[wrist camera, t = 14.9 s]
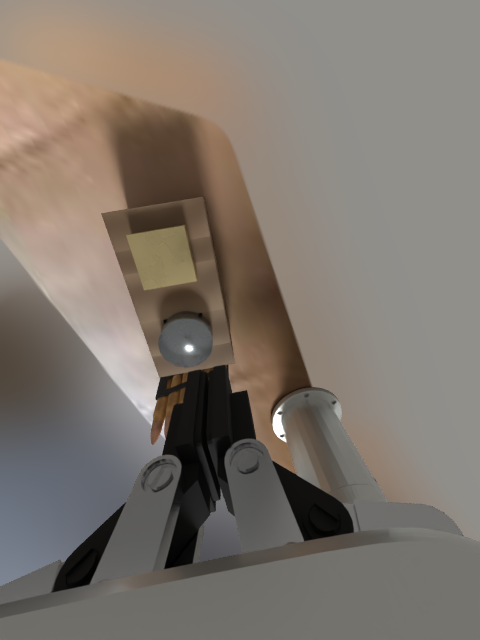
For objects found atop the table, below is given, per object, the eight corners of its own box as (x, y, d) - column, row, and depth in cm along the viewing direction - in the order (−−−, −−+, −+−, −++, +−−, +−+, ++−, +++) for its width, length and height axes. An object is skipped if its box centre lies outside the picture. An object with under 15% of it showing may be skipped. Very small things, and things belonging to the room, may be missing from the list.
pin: (207, 287, 33) (206, 316, 25) (215, 324, 35) (217, 362, 27) (166, 294, 33) (151, 326, 24) (177, 331, 35) (166, 371, 27)
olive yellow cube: (198, 269, 28) (196, 281, 24) (154, 277, 28) (144, 290, 24) (188, 222, 26) (183, 225, 22) (139, 230, 26) (126, 235, 22)
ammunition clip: (223, 350, 39) (228, 407, 28) (228, 359, 39) (234, 419, 28) (160, 376, 39) (140, 442, 28) (166, 385, 40) (149, 452, 29)
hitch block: (230, 332, 37) (234, 363, 30) (169, 343, 37) (159, 377, 30) (204, 198, 30) (202, 196, 23) (128, 211, 30) (101, 213, 22)
